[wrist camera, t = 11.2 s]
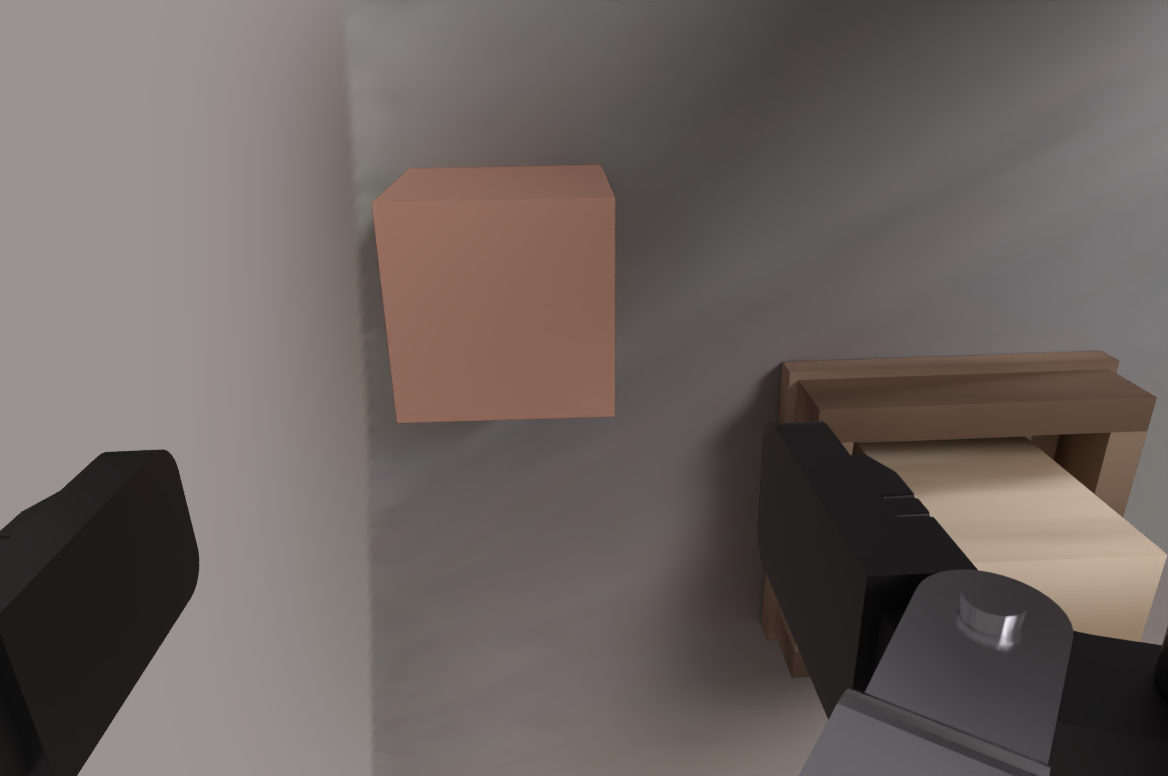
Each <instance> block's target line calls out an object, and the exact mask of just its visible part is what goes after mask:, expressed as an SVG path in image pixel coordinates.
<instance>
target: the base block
mask: <svg viewBox="0 0 1168 776" xmlns="http://www.w3.org/2000/svg"><path fill="white" fill-rule="evenodd" d="M861 454H866V455H868V456H869V457H871V458H873V459H874V460H876V461H878V462H880V463H881V464H883V465H885V466H887V467H888V468H890V469H892V470H893V471H895V472H897V474H898V475H899V476H900V477H901V478H902V480H903V481H904V482H905V483H906V484H907V486H908V487H909V488H910V489H911V490H912V492H913V493H914V497H915V498H918V499H919V500H920V501H921V502H922V504H923V505H924V506H925V507H926V508H927V509H928V511H929V514H930V517H934V518H935V519H936V520H937V521H938V523H939V524H940V525H941V526H942V527H943V529H944V530H945V531H946V532H947V533H948V535H949V536H950V537H951V538H952V539H953V541H954V542H955V543H956V544H957V545H958V546H959V548H960V549H961V550H962V551H963V552H964V554H965V555H966V556H967V557H968V558H969V560H970V561H971V562H972V563H973V564H974V566H975V567H976V568H977V569H978V570H979V571H986V572H992V573H996V574H1000V575H1004V576H1007V577H1010V578H1013V579H1016V580H1018V581H1020V582H1023V583H1025V584H1027V585H1029V586H1031V587H1033V588H1035V589H1037V590H1039V591H1040V592H1042V593H1043V594H1045V595H1046V596H1048V597H1049V598H1051V599H1052V600H1053V601H1054V602H1055V603H1056V604H1058V605H1059V606H1060V607H1061V608H1062V610H1063V611H1064V612H1065V613H1066V614H1067V616H1068V618H1069V620H1070V621H1071V624H1072V627H1073V631H1077V632H1082V633H1087V634H1092V635H1098V636H1104V637H1111V638H1117V639H1124V640H1130V641H1136V642H1140V641H1141V638H1142V634H1143V631H1144V628H1145V625H1146V622H1147V618H1148V615H1149V612H1150V609H1151V605H1152V602H1153V599H1154V596H1155V593H1156V589H1157V586H1158V583H1159V580H1160V577H1161V573H1162V570H1163V567H1164V564H1165V561H1166V557H1167V554H1166V553H1165V552H1163V551H1162V550H1161V549H1160V548H1159V547H1157V546H1156V545H1155V544H1154V543H1153V542H1151V541H1150V540H1149V539H1148V538H1147V537H1145V536H1144V535H1143V534H1142V533H1140V532H1139V531H1138V530H1137V529H1136V528H1134V527H1133V526H1132V525H1131V524H1130V523H1128V522H1127V521H1126V520H1125V519H1124V518H1122V517H1121V516H1120V515H1119V514H1118V513H1116V512H1115V511H1114V510H1113V509H1112V508H1110V507H1109V506H1108V505H1107V504H1106V503H1104V502H1103V501H1102V500H1101V499H1100V498H1098V497H1097V496H1096V495H1095V494H1094V493H1092V492H1091V491H1090V490H1089V489H1088V488H1086V487H1085V486H1084V485H1083V484H1081V483H1080V482H1079V481H1078V480H1077V479H1075V478H1074V477H1073V476H1072V475H1071V474H1069V473H1068V472H1067V471H1066V470H1065V469H1063V468H1062V467H1061V466H1060V465H1059V464H1057V463H1056V462H1055V461H1054V460H1053V459H1051V458H1050V457H1049V456H1048V455H1047V454H1045V453H1044V452H1043V451H1042V450H1041V449H1039V448H1038V447H1037V446H1036V445H1035V444H1033V443H1032V442H1031V441H1030V440H1029V439H1027V438H1026V437H999V438H974V439H948V440H923V441H897V442H872V443H857V450H856V455H861Z"/></svg>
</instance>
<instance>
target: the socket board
mask: <svg viewBox="0 0 1168 776" xmlns="http://www.w3.org/2000/svg"><path fill="white" fill-rule="evenodd" d="M1118 364H1119V360H1117V359H1115V358H1114V357H1112V356H1110V355H1108V354H1106V353H1105V352H1103V351H1086V352H1057V353H1028V354H999V355H969V356H940V357H911V358H882V359H853V360H824V361H795V362H783V364H782V376H781V389H780V401H779V413H778V423H793V422H815V421H824V422H825V423H826V424H827V425H828V426H829V427H830V429H831V430H832V431H833V433H834V434H835V435H836V437H837V438H838V439H839V441H840V442H841V443H842V445H843V446H844V447H845V448H846V450H847V451H848V452H849V454H850V455H856V450H857V443H872V442H897V441H923V440H948V439H974V438H999V437H1026V438H1027V439H1029V440H1030V441H1031V442H1032V443H1033V444H1035V445H1036V446H1037V447H1038V448H1039V449H1041V450H1042V451H1043V452H1044V453H1045V454H1047V455H1048V456H1049V457H1050V458H1051V459H1053V460H1054V461H1055V462H1056V463H1057V464H1059V465H1060V466H1061V467H1062V468H1063V469H1065V470H1066V471H1067V472H1068V473H1069V474H1071V475H1072V476H1073V477H1074V478H1075V479H1077V480H1078V481H1079V482H1080V483H1081V484H1083V485H1084V486H1085V487H1086V488H1088V489H1089V490H1090V491H1091V492H1092V493H1094V494H1095V495H1096V496H1097V497H1098V498H1100V499H1101V500H1102V501H1103V502H1104V503H1106V504H1107V505H1108V506H1109V507H1110V508H1112V509H1113V510H1114V511H1115V512H1116V513H1118V514H1119V515H1120V516H1121V517H1122V518H1123V515H1124V512H1125V508H1126V505H1127V501H1128V497H1129V494H1130V490H1131V487H1132V483H1133V480H1134V476H1135V473H1136V469H1137V466H1138V462H1139V458H1140V455H1141V451H1142V448H1143V444H1144V441H1145V437H1146V434H1147V430H1148V426H1149V423H1150V419H1151V416H1152V412H1153V409H1154V405H1155V402H1156V398H1157V397H1155V396H1154V395H1152V394H1150V393H1149V392H1147V391H1145V390H1143V389H1142V388H1140V387H1138V386H1137V385H1135V384H1133V383H1131V382H1130V381H1128V380H1126V379H1125V378H1123V377H1121V376H1120V375H1118V374H1116V372H1117V368H1118ZM761 625H762V627H763V630H764V633H765V635H766V638H767V640H778V642H779V645H780V647H781V650H782V652H783V655H784V658H785V660H786V663H787V665H788V668H789V671H790V673H791V676H792V678H794V677H810V675H809V673H808V671H807V668H806V666H805V664H804V661H803V659H802V657H801V654H800V652H799V650H798V647H797V645H796V643H795V640H794V638H793V636H792V633H791V631H790V628H789V626H788V624H787V621H786V619H785V617H784V614H783V612H782V610H781V607H780V605H779V603H778V600H777V598H776V596H775V593H774V591H773V589H772V586H771V584H770V582H769V579H768V577H767V575H766V572H765V585H764V597H763V609H762V621H761Z"/></svg>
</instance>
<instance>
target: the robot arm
mask: <svg viewBox="0 0 1168 776" xmlns="http://www.w3.org/2000/svg"><path fill="white" fill-rule="evenodd" d="M758 542H759V550H760V556H761V560H762V564H763V567H764V570H765V572H766V575H767V577H768V579H769V582H770V584H771V586H772V589H773V591H774V593H775V596H776V598H777V600H778V603H779V605H780V607H781V610H782V612H783V614H784V617H785V619H786V621H787V624H788V626H789V628H790V631H791V633H792V636H793V638H794V640H795V643H796V645H797V647H798V650H799V652H800V654H801V657H802V659H803V661H804V664H805V666H806V668H807V671H808V673H809V675H810V678H811V680H812V682H813V685H814V687H815V689H816V692H817V694H818V696H819V699H820V701H821V703H822V706H823V708H824V710H825V713H826V715H827V717H828V722H827V724H826V726H825V727H824V729H823V731H822V733H821V735H820V737H819V739H818V741H817V743H816V744H815V746H814V748H813V750H812V752H811V754H810V756H809V758H808V760H807V761H806V763H805V765H804V767H803V769H802V771H801V773H800V775H799V776H1168V628H1167V631H1166V634H1165V637H1164V641H1163V644H1162V645H1156V644H1149V643H1143V642H1136V641H1130V640H1124V639H1117V638H1111V637H1104V636H1098V635H1092V634H1087V633H1082V632H1077V631H1073V627H1072V624H1071V621H1070V620H1069V618H1068V616H1067V614H1066V613H1065V612H1064V611H1063V610H1062V608H1061V607H1060V606H1059V605H1058V604H1056V603H1055V602H1054V601H1053V600H1052V599H1051V598H1049V597H1048V596H1046V595H1045V594H1043V593H1042V592H1040V591H1039V590H1037V589H1035V588H1033V587H1031V586H1029V585H1027V584H1025V583H1023V582H1020V581H1018V580H1016V579H1013V578H1010V577H1007V576H1004V575H1000V574H996V573H992V572H986V571H979V570H978V569H977V568H976V567H975V566H974V564H973V563H972V562H971V561H970V560H969V558H968V557H967V556H966V555H965V554H964V552H963V551H962V550H961V549H960V548H959V546H958V545H957V544H956V543H955V542H954V541H953V539H952V538H951V537H950V536H949V535H948V533H947V532H946V531H945V530H944V529H943V527H942V526H941V525H940V524H939V523H938V521H937V520H936V519H935V518H934V517H930V514H929V511H928V509H927V508H926V507H925V506H924V505H923V504H922V502H921V501H920V500H919V499H918V498H915V497H914V493H913V492H912V490H911V489H910V488H909V487H908V486H907V484H906V483H905V482H904V481H903V480H902V478H901V477H900V476H899V475H898V474H897V472H895V471H893V470H892V469H890V468H888V467H887V466H885V465H883V464H881V463H880V462H878V461H876V460H874V459H873V458H871V457H869V456H868V455H866V454H861V455H850V454H849V452H848V451H847V450H846V448H845V447H844V446H843V445H842V443H841V442H840V441H839V439H838V438H837V437H836V435H835V434H834V433H833V431H832V430H831V429H830V427H829V426H828V425H827V424H826V423H825V422H824V421H815V422H793V423H770V424H768V425H767V427H766V429H765V433H764V439H763V451H762V466H761V482H760V497H759V512H758ZM198 574H199V553H198V547H197V543H196V539H195V535H194V531H193V527H192V523H191V519H190V515H189V511H188V507H187V503H186V499H185V495H184V490H183V486H182V483H181V479H180V474H179V470H178V467H177V464H176V462H175V459H174V458H173V456H172V455H171V454H170V453H169V452H168V451H166V450H141V451H118V452H104V453H102V454H100V455H99V456H98V457H97V458H95V460H93V461H92V462H91V463H90V464H89V465H88V466H87V467H86V468H85V469H84V470H82V471H81V472H80V473H79V474H78V475H77V476H76V477H75V478H74V479H73V480H72V481H70V482H69V483H68V484H67V485H66V486H65V487H64V488H63V489H62V490H61V491H59V492H57V493H56V494H53V495H52V496H50V497H48V498H46V499H44V500H42V501H41V502H39V503H37V504H36V505H33V506H31V507H30V508H28V509H26V510H24V511H22V512H21V513H20V514H19V515H18V516H16V517H15V518H14V519H13V520H12V521H11V522H10V523H9V524H7V525H6V526H5V527H4V528H3V529H2V530H1V531H0V776H77V775H78V773H79V772H80V770H81V769H82V767H83V766H84V764H85V763H86V761H87V759H88V758H89V756H90V755H91V753H92V752H93V750H94V748H95V747H96V745H97V744H98V742H99V741H100V739H101V738H102V736H103V734H104V733H105V731H106V730H107V728H108V727H109V725H110V724H111V722H112V720H113V719H114V717H115V715H116V714H117V713H118V711H119V709H120V708H121V706H122V705H123V703H124V702H125V700H126V699H127V697H128V695H129V694H130V692H131V691H132V689H133V687H134V686H135V684H136V683H137V681H138V680H139V678H140V676H141V675H142V674H143V672H144V670H145V669H146V667H147V666H148V664H149V663H150V661H151V659H152V658H153V656H154V655H155V653H156V652H157V650H158V649H159V646H160V645H161V644H162V642H163V641H164V639H165V638H166V636H167V634H168V633H169V631H170V630H171V628H172V627H173V625H174V624H175V622H176V620H177V619H178V617H179V616H180V614H181V613H182V611H183V610H184V608H185V606H186V605H187V603H188V602H189V600H190V599H191V597H192V595H193V593H194V590H195V588H196V584H197V579H198Z"/></svg>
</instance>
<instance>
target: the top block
mask: <svg viewBox="0 0 1168 776" xmlns="http://www.w3.org/2000/svg"><path fill="white" fill-rule="evenodd" d="M372 210H373V219H374V227H375V236H376V245H377V253H378V262H379V271H380V279H381V288H382V297H383V305H384V314H385V323H386V331H387V340H388V349H389V358H390V366H391V375H392V384H393V392H394V401H395V410H396V418H397V423H415V422H449V421H482V420H516V419H550V418H583V417H615V196H614V194H613V191H612V189H611V187H610V184H609V182H608V180H607V177H606V175H605V173H604V170H603V168H602V166H601V165H554V166H503V167H453V168H409V169H408V170H407V171H406V172H405V173H404V174H403V175H402V176H400V177H399V178H398V179H397V180H396V181H395V182H394V183H393V184H392V185H391V186H389V187H388V188H387V189H386V190H385V191H384V192H383V193H382V194H381V195H380V196H378V197H377V198H376V199H375V200H374V201H373V202H372Z"/></svg>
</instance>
